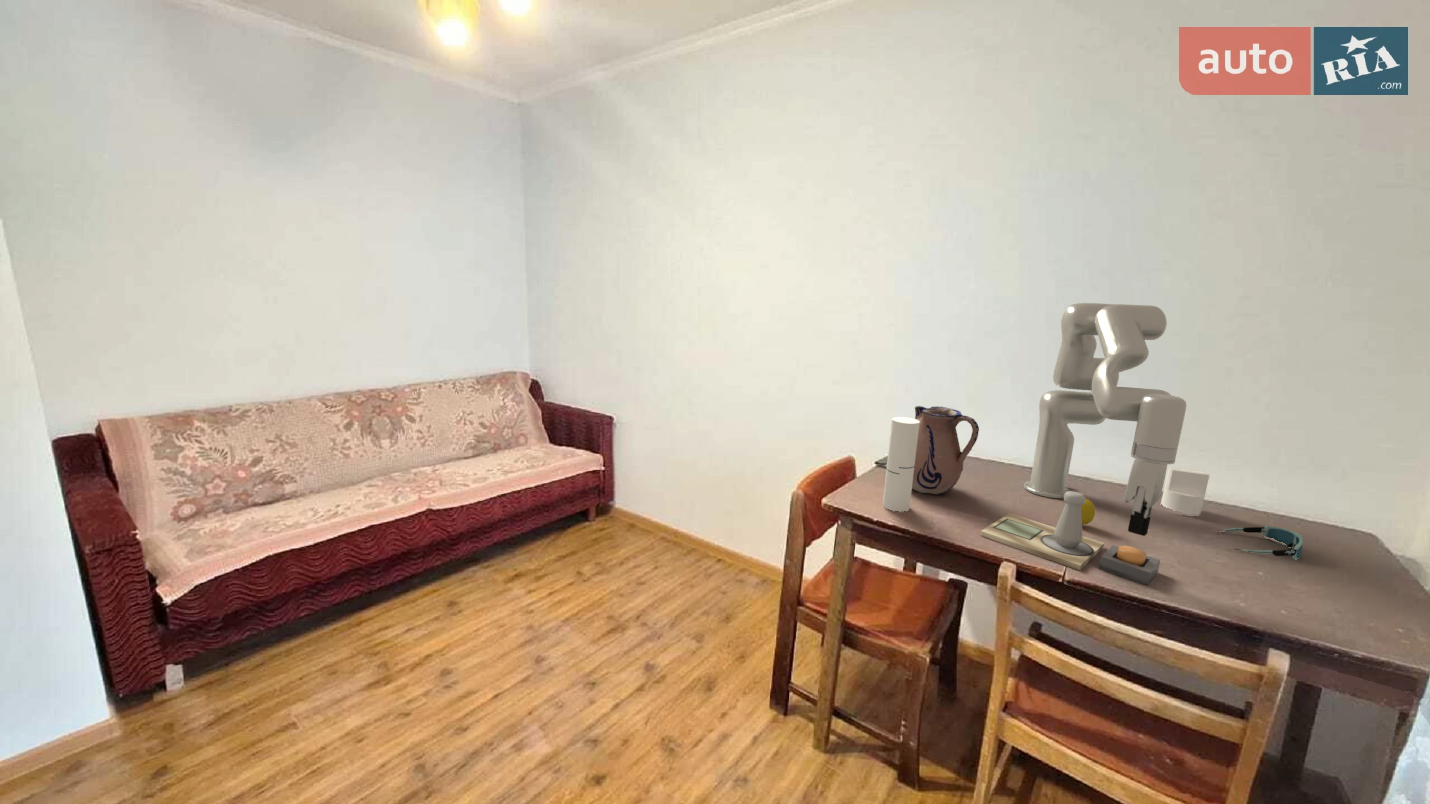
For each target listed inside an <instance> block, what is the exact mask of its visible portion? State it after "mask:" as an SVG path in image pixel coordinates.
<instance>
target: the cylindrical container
mask: <svg viewBox="0 0 1430 804" xmlns="http://www.w3.org/2000/svg"><path fill="white" fill-rule="evenodd" d="M919 423H920V421H918V420H916V419H915V418H911V417H905V416H896V417H895V416H894V417H892V418H891V423H890V424H891V425H890V434H889V435H890V436H889V443H888V451H887V460H886V461H887V462H886V470H885V480H884V490H883V497H882V498H883V500H882V507H883V506H884V507H885V508H884V507H883V508H884V509H886V508H887V509H886V510H888V509H889V510H888V511H890V510H892V511H891V512H895V511H899V512H898V513H905V512H904V511H906V512H908V511H910V506H911V498H912V482H913V474H914V465H915V457H916V449H917V440H918V432H919ZM902 511H903V512H902Z"/></svg>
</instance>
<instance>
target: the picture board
mask: <svg viewBox="0 0 1430 804" xmlns="http://www.w3.org/2000/svg"><path fill="white" fill-rule="evenodd" d="M1055 528H1056V526H1052V525H1048V524H1046V523H1042V522H1038V521H1035V520H1033V519H1030V518H1026V517H1023V516H1020V515H1016V514H1013V513H1011V512H1010V513H1008V514H1006V515H1005V516H1003V517H1001V518H1000V519H998V520H996V521H995V522H993V523H991V524H990V525H988V526H986V527H985V528H983V529H981V530H980V533H979V534H980V536H981V537H983V538H987V539H990V540H992V541H996V542H998V543H1000V544H1004V545H1007V546H1009V547H1012V548H1015V549H1018V550H1020V551H1024V552H1025V553H1030V554H1032V555H1035V556H1038V557H1040V558H1042V559H1046V560H1048V561H1051V562H1054V563H1057V564H1060V565H1063V566H1066V567H1068V568H1072V569H1074V570H1076V571H1081V570H1082V569H1083V568H1084V567H1085V566H1086V565H1087V564H1088V563H1090V561H1091V560H1092V559H1094V557H1095V556H1097V554H1099V552H1101V551H1102V550H1103V549H1104V548H1103V547H1105V542H1102V541H1099V540H1097V539H1094V538H1093V539H1092V538H1089V537H1087V536H1085V535H1084V536H1083V535H1082V541H1081V542H1080V543H1079V545H1078V546H1077V547H1075V548H1068V547H1063V546H1061V545H1059V544H1058V543H1056V539H1055V536H1054V531H1055ZM1101 549H1102V550H1101Z"/></svg>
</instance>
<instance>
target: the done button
mask: <svg viewBox="0 0 1430 804" xmlns="http://www.w3.org/2000/svg"><path fill="white" fill-rule="evenodd" d="M1118 547H1119V548H1118V553H1117V559H1119V560H1122V561H1125V562H1128V563H1131V564H1134V565H1137V566H1140V567H1143V566H1144V563H1145V558H1146V556H1147V553H1146V552H1145V551H1144V550H1142V549H1139V548H1136V547H1134V546H1129V545H1120V546H1118Z"/></svg>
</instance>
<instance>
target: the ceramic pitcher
mask: <svg viewBox="0 0 1430 804" xmlns="http://www.w3.org/2000/svg"><path fill="white" fill-rule="evenodd" d="M914 412H915V415H914V416H915V417H914V419H916V420H918V421H920V423H919V432H918V440H917V449H916V457H915V465H914V474H913V482H912V489H913V491H916V492H918V493H922V494H932V495H933V494H934V495H939V494H943V493H946V492H948V491H950V490H952V489H953V488H954V487H955V485H957V483H958V481H959V479H960V477H961V476H962V472H963V470H964V461H965V460H966V458H967V457H968V455H969V454H970V452H971V451H972V449H973V447H974V446H975V444H976V443H977V440H978V437H979V431H980V428H979V427H980V426H979V424H978V423H977V421H976V420H975V418H973V417H970V416H968V415H963V414H962V412H961V411H960V410H957V409H954V408H949V407H944V406H931V407H929V408H928V407H925V406H920V405H916V406H915V407H914ZM961 422H966V423H969V424H970V427H971V428H972V429H971V430H972V432H971V436H970V438H969V441H968V442H967V443H966V445H965V447H964V448H963V449H962V451H961V447H960V442H959V437H958V432H957V426H958V424H960V423H961Z"/></svg>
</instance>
